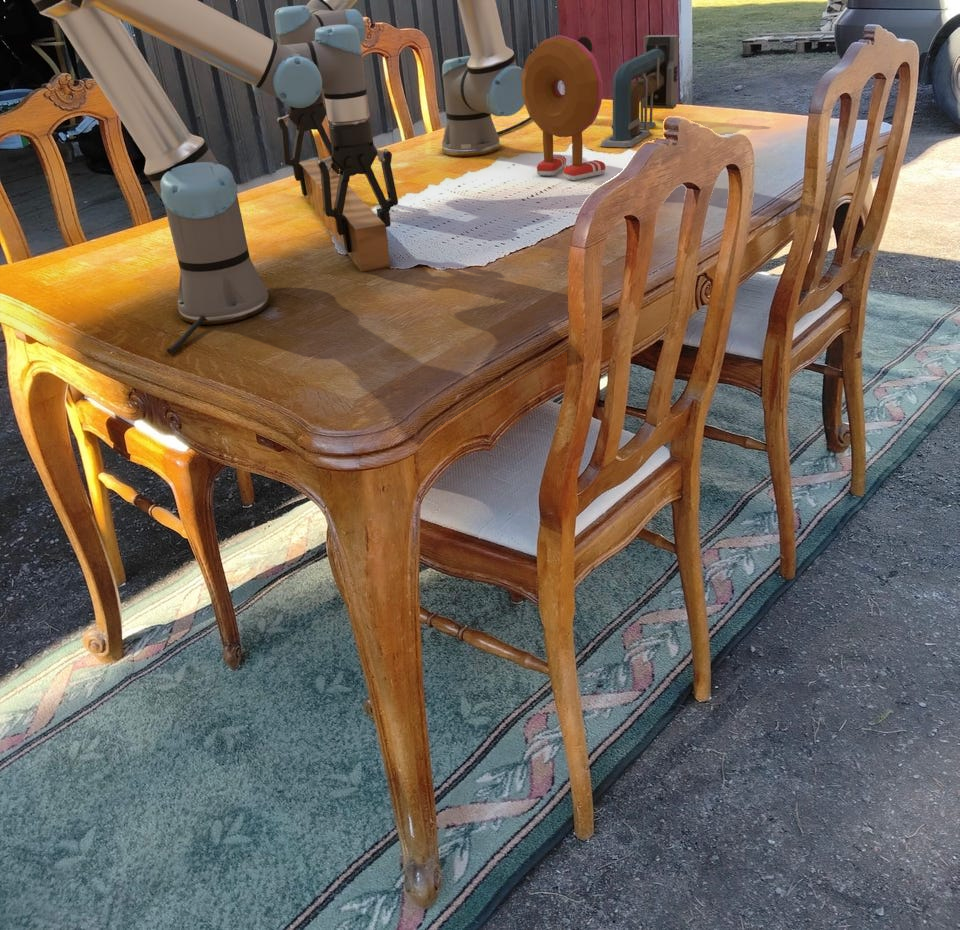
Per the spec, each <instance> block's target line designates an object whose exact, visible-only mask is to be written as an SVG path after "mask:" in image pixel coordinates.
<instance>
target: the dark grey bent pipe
mask: <svg viewBox="0 0 960 930" xmlns="http://www.w3.org/2000/svg"><path fill="white" fill-rule="evenodd" d="M678 59H679V34H651V35H649V34H648V35H645V36H644V37H643V53H642V54H639V55H638V56H636V57H633V58H631V59H629V60H627V61H625V62H623V63H621V64H620V66H619V67H617V69H616V70H615V72H614V73H613V74H614V75H613V79H612V123H611V129H612V135H610V136H608V137H606V138H605V139H603V140H601V142H600V144H599V146H600V147H604V148H605V147H606V148H608V147H609V148H610V147H611V148H632V147H633V146H635V145H637V144H638V143H640V142H641V141H643V140H644V139H646V138H647V137H649V136H651V135H652V133H651V131H650V129H653V128H655V127H656V126H657V124H656V122H654V121H653V111H654V109H659V110H662V109H665V110H673V109H675V108H676V107H677V100H678V98H677V96H678V66H679V65H678V63H679V61H678ZM637 78H640V79H638V80H636V81H634V82H632V81H633V80H635V79H637ZM648 109H649V121H648Z"/></svg>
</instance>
